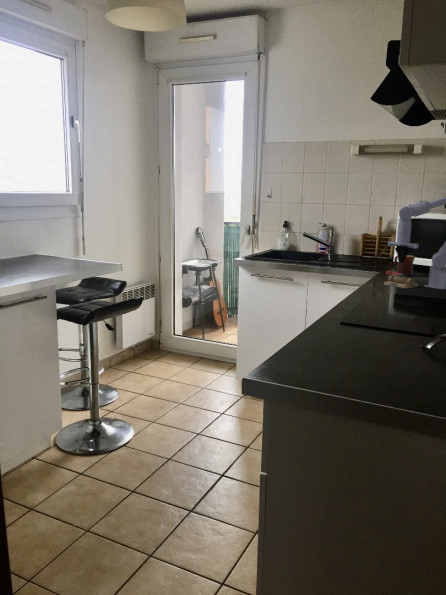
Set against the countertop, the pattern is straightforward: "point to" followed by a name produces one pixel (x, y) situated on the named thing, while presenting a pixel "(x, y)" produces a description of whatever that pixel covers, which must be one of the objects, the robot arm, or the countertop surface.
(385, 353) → the countertop surface
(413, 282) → the valve board
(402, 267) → the mug
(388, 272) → the valve lever
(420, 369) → the countertop surface
